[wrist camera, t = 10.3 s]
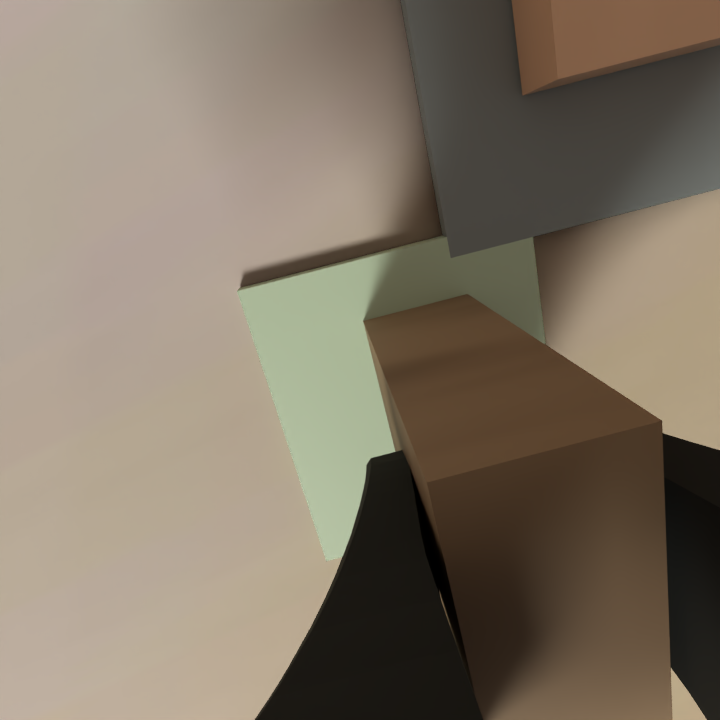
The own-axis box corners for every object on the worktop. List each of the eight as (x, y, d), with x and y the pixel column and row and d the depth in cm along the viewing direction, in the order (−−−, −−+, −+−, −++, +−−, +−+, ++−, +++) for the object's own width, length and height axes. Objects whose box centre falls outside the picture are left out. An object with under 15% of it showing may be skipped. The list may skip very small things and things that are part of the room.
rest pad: (557, 490, 14) (563, 499, 14) (326, 551, 14) (326, 561, 14) (523, 214, 12) (530, 215, 11) (239, 288, 12) (237, 291, 11)
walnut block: (496, 468, 14) (672, 730, 7) (405, 492, 14) (494, 778, 7) (467, 293, 12) (662, 420, 5) (362, 320, 12) (426, 482, 5)
